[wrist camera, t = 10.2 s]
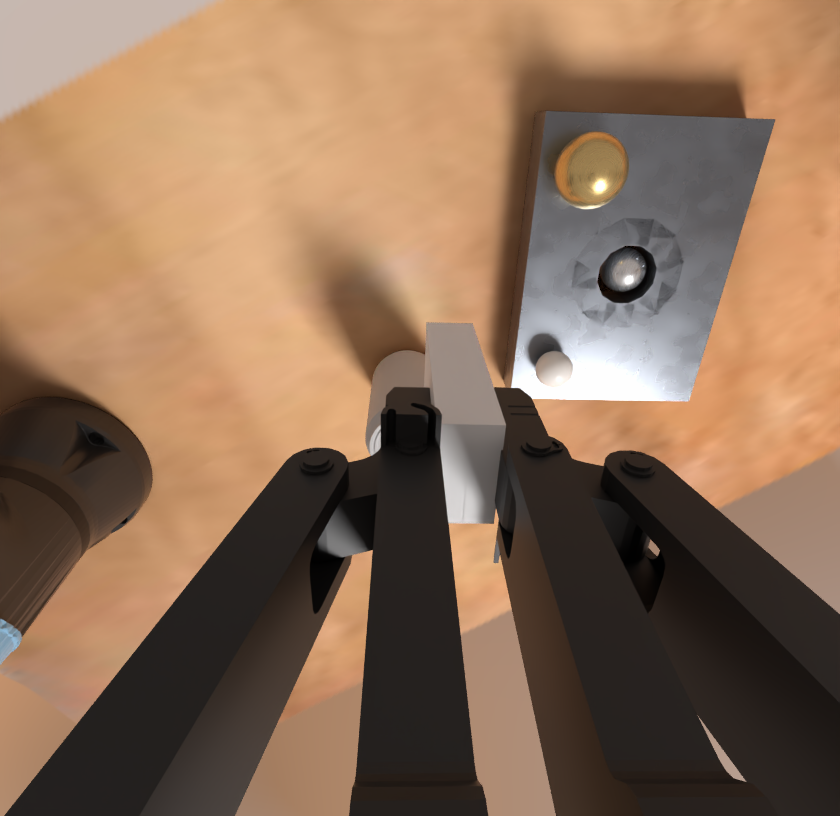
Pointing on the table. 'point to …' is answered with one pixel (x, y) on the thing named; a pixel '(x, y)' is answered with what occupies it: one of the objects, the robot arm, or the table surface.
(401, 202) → the table surface
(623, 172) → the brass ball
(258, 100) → the table surface
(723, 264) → the plate
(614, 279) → the steel ball
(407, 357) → the beverage can
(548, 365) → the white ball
